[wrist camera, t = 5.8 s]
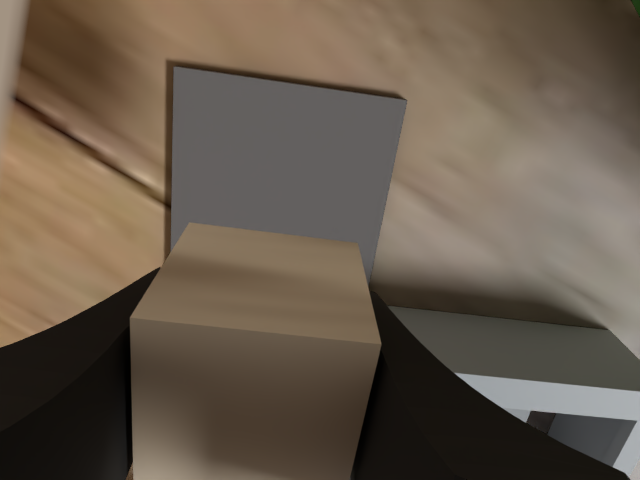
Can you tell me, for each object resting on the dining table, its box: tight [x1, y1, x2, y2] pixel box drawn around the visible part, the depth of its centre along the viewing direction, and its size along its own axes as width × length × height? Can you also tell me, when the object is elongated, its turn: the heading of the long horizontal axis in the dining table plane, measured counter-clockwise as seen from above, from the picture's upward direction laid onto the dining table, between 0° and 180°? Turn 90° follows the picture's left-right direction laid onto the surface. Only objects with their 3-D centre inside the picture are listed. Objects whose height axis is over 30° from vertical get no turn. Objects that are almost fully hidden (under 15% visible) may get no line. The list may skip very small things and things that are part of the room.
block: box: [130, 222, 381, 480], centre depth 10 cm, size 4×4×4 cm
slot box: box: [349, 306, 640, 480], centre depth 23 cm, size 10×14×5 cm
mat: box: [171, 66, 407, 286], centre depth 20 cm, size 9×9×1 cm
